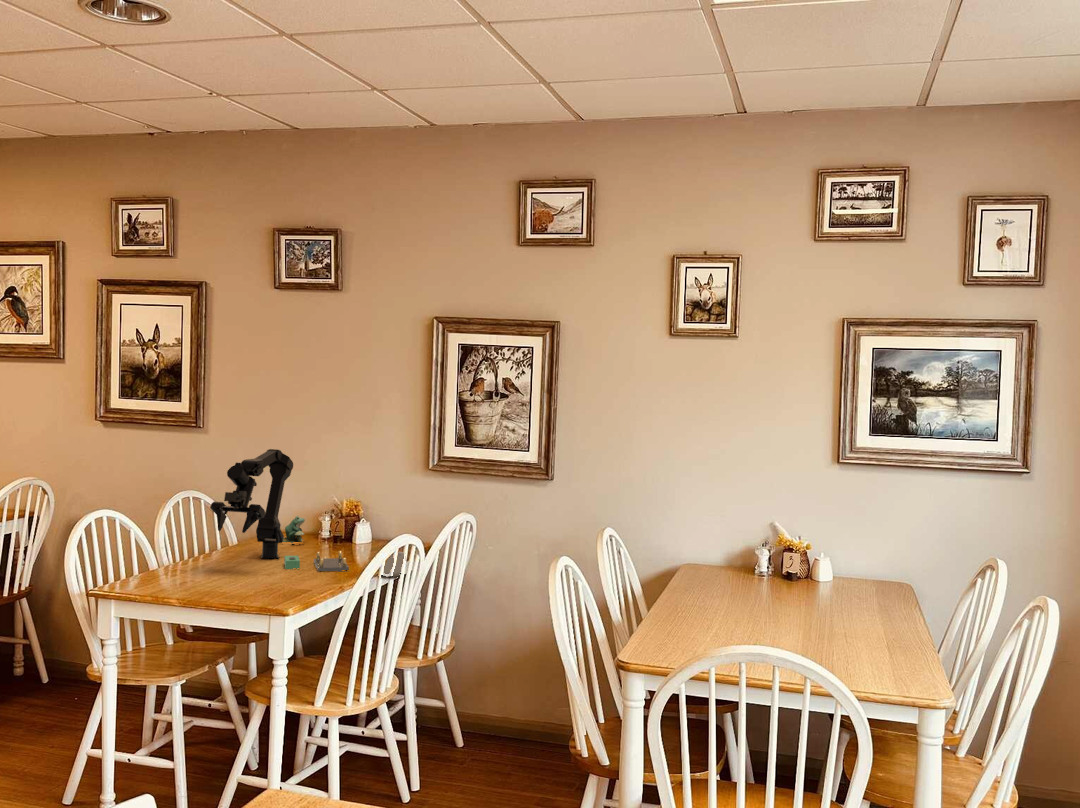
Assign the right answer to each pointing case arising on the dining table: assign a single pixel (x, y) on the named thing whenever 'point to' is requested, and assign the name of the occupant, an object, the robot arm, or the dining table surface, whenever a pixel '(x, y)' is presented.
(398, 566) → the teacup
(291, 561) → the board
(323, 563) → the chassis
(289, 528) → the frog figurine
